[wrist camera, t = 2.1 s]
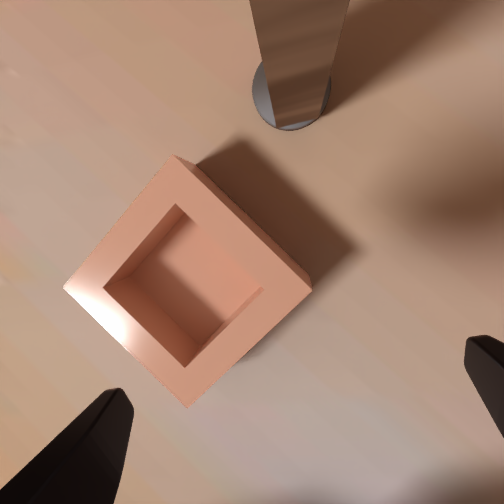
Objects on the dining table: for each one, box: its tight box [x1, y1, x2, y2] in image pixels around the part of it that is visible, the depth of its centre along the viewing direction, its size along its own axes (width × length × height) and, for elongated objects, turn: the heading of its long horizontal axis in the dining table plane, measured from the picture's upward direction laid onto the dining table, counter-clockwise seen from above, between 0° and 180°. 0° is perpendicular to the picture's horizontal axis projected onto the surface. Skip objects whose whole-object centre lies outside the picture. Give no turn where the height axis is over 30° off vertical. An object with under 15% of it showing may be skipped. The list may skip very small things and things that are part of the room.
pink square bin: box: [63, 154, 313, 408], centre depth 18 cm, size 10×10×4 cm
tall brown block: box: [249, 0, 350, 131], centre depth 11 cm, size 4×4×14 cm
